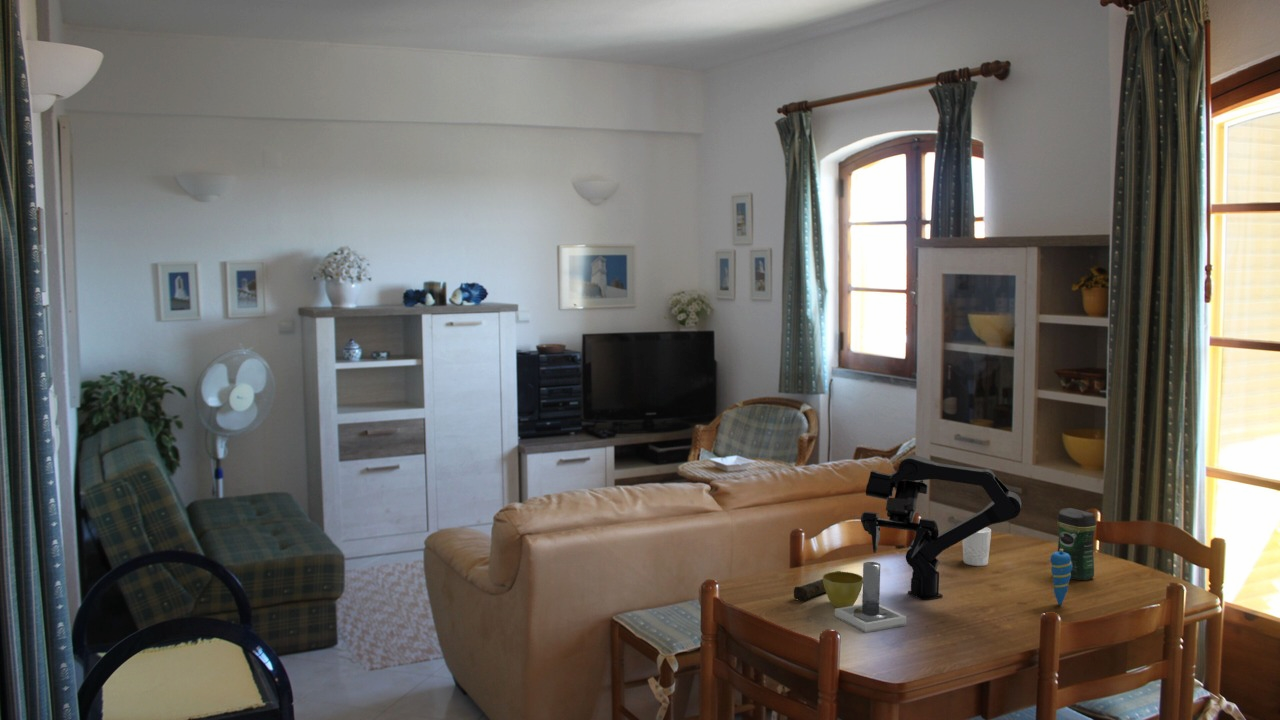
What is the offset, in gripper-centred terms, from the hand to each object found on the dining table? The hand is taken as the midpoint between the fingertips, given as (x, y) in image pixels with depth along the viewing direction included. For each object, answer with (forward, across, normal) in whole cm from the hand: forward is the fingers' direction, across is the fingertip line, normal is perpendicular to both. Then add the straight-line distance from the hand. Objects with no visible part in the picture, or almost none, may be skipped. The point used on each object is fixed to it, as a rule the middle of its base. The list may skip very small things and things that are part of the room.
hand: (892, 554), depth 257 cm
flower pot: (+13, -11, +7) cm, 18 cm away
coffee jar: (-26, +37, +46) cm, 65 cm away
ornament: (-6, +37, +26) cm, 45 cm away
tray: (+18, -2, +1) cm, 18 cm away
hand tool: (+8, -19, +12) cm, 24 cm away
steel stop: (+18, -2, +1) cm, 18 cm away
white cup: (-26, +11, +45) cm, 53 cm away
